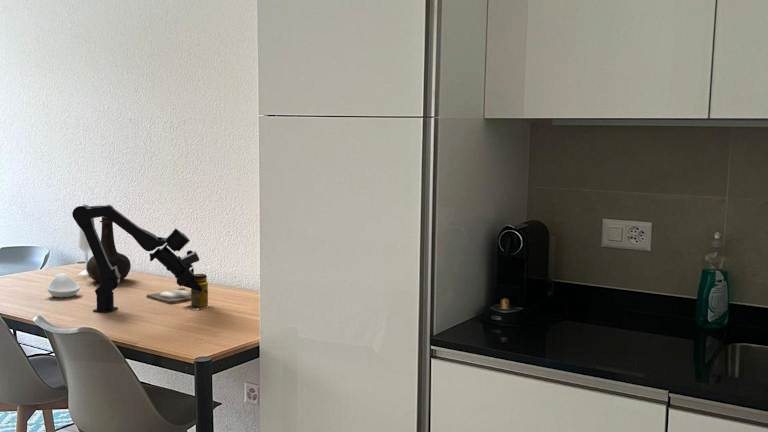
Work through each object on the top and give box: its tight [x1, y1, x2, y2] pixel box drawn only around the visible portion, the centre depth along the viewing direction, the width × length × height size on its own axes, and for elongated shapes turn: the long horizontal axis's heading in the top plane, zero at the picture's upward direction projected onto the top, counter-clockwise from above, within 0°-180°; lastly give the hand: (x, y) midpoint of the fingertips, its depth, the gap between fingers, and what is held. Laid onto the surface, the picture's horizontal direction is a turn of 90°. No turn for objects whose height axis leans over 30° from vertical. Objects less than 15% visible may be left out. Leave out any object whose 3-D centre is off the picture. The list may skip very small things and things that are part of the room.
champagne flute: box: [77, 226, 91, 276], centre depth 337 cm, size 7×7×24 cm
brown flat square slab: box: [146, 287, 191, 305], centre depth 294 cm, size 16×16×2 cm
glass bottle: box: [87, 217, 132, 284], centre depth 321 cm, size 18×18×28 cm
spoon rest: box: [47, 272, 81, 299], centre depth 298 cm, size 24×12×7 cm, turn 30°
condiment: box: [182, 273, 213, 311], centre depth 279 cm, size 7×8×12 cm
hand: (201, 288), depth 279 cm, fingers closed on condiment, 6 cm apart
